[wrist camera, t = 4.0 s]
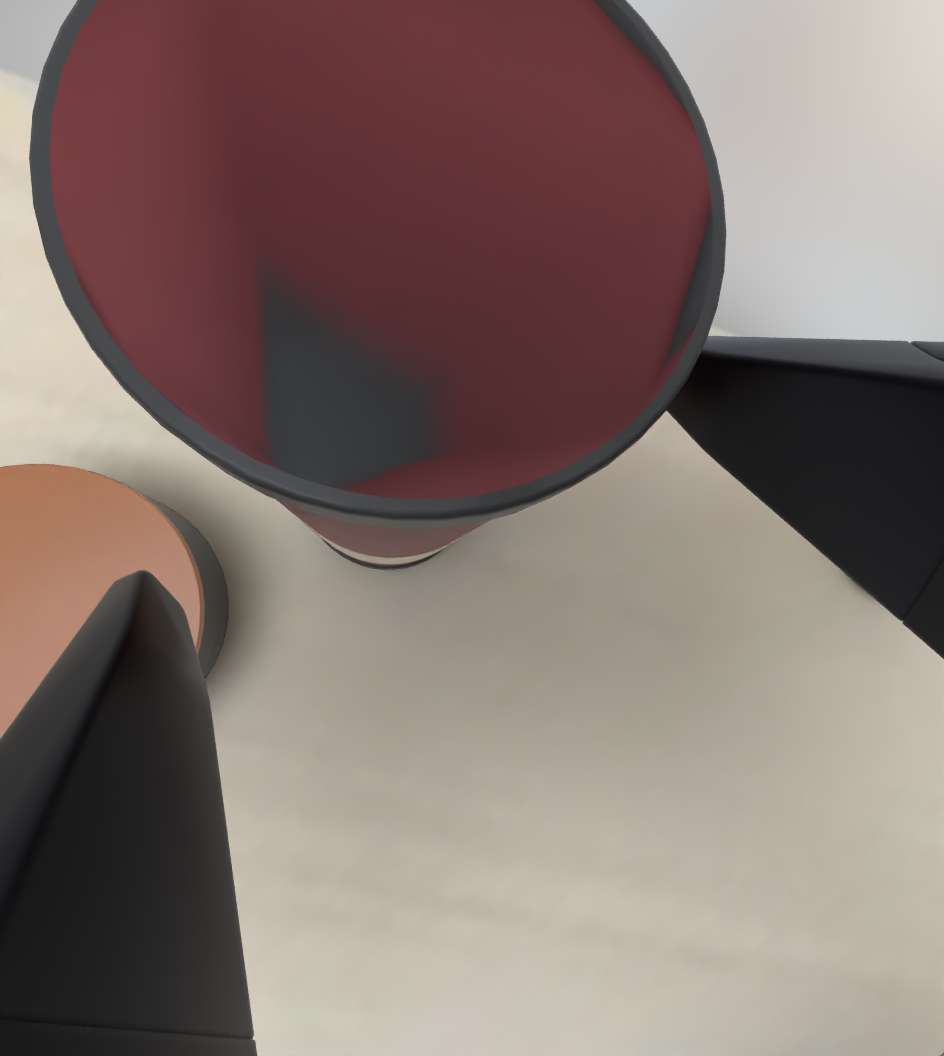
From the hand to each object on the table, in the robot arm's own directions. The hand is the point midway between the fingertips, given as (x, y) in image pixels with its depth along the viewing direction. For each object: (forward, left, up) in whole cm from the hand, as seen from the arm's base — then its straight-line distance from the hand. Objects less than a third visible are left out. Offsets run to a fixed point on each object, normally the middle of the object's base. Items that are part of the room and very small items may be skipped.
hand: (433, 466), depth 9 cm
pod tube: (+1, +1, -9) cm, 9 cm away
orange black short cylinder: (-7, +6, -9) cm, 13 cm away
